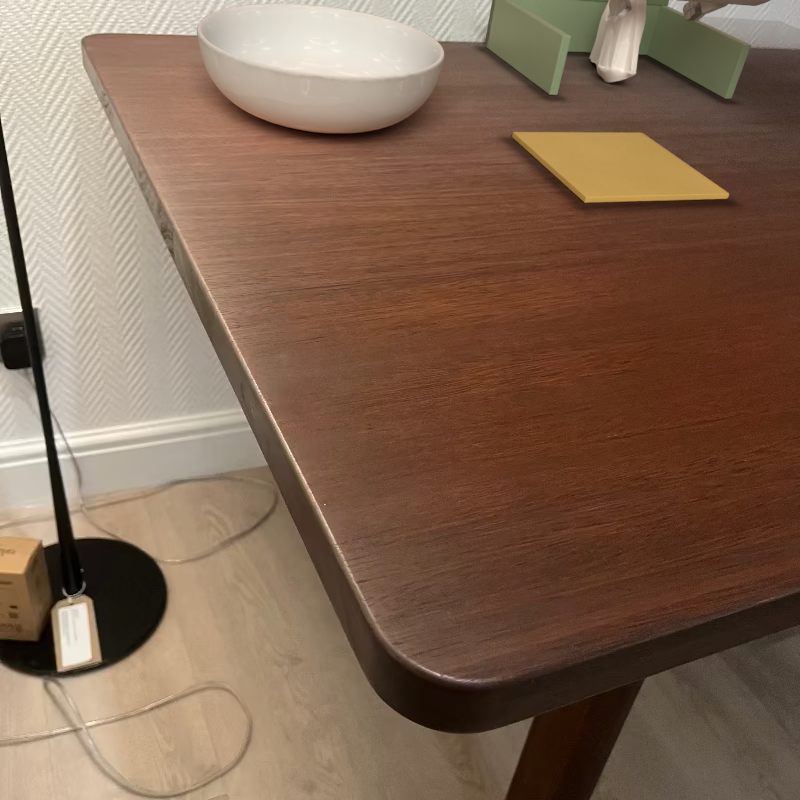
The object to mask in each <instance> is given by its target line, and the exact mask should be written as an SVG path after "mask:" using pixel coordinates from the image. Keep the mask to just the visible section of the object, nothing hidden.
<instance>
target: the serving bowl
mask: <svg viewBox="0 0 800 800" xmlns="http://www.w3.org/2000/svg"><path fill="white" fill-rule="evenodd" d="M196 37H197V43H198V47H199V51H200V55H201V60H202V62H203V65H204V67H205V70H206V72H207V74H208V76H209V78H210V79H211V80H212V82H213V84H214V85H215V86H216V87H217V89H218V90H219V91H220V92H221V93H222V94H223V96H224V97H226V98H227V99H228V100H229V101H230V102H231V103H233V104H234V105H235V106H237V108H240V109H241V110H242V111H245V112H246V113H248V114H250V115H253V116H254V117H257V118H259V119H261V120H264V121H266V122H268V123H271V124H276V125H279V126H283V127H286V128H291V129H295V130H301V131H305V132H309V133H315V134H356V133H357V134H359V133H365V132H366V133H367V132H371V131H377V130H381V129H384V128H387V127H391V126H394V125H395V124H398V123H400V122H402V121H404V120H405V119H407V118H409V117H411V116H412V115H413V114H414V113H416V112H417V111H418V110H419V109H420V108H421V107H422V106H423V105H424V104H425V103H426V101H427V100H428V99H429V98H430V96H431V94H433V91H434V89H435V87H436V85H437V83H438V81H439V77H440V75H441V72H442V69H443V64H444V61H445V50H444V47H443V45H441V43H440V42H439V41H438V40H436V39H435V38H434V37H432V36H431V35H430V34H428V33H426V32H424V31H423V30H420V29H418V28H416V27H414V26H411V25H409V24H406V23H403V22H401V21H397V20H395V19H392V18H387V17H385V16H381V15H376V14H372V13H367V12H364V11H358V10H353V9H347V8H340V7H334V6H326V5H317V4H307V3H306V4H305V3H289V2H288V3H285V2H282V3H281V2H280V3H279V2H271V3H270V2H269V3H267V2H266V3H252V4H242V5H235V6H230V7H226V8H221V9H218V10H216V11H213V12H211V13H208V14H207V15H205V16H204V17H202V19H201V20H199V22H198V23H197V26H196Z"/></svg>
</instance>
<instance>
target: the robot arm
mask: <svg viewBox="0 0 800 800" xmlns="http://www.w3.org/2000/svg"><path fill="white" fill-rule="evenodd" d="M678 1H679V2H686V3H685V4H684V5H683V7H682V13H684V14H685V15H684V19H685V20H687V21H698V20H699V21H700V20H701V19H702V18H703V17H704V16H706V15H707V14H710V13H713V12H715V11H718V10H721V9H723V8H725V7H727V6H728V5H735V6H736V5H738V6H750V7H757V6H760V5H763V4H765V3H768V2H770V1H771V0H677V2H678ZM631 9H632V5H631V2H630V0H610V1H609V10H610V15H611V16H625V15H626V13H628V12H629V11H630V10H631Z"/></svg>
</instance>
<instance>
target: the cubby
mask: <svg viewBox="0 0 800 800" xmlns="http://www.w3.org/2000/svg"><path fill="white" fill-rule="evenodd" d="M608 1H609V0H491V5H490V10H489V16H488V22H487V23H488V24H487V27H486V28H487V29H486V32H485V33H486V34H485V38H484V43H483V44H484V47H485V48H486V49H488V50H489V51H490V52H492V53H493V54H494V55H496V56H497V57H498V58H500V60H502V61H504V62H505V63H506V64H508V66H510V67H512V68H513V69H514V70H516V71H517V72H518V73H520V75H522V76H524V77H525V78H527V80H529V81H530V82H532V84H534V85H536V86H537V87H538V88H539V89H541V90H543V92H544V93H546V94H547V95H548V96H558V94H559V89H560V85H561V82H562V76H563V73H564V68H565V65H566V61H567V56H568V52H570V53H591V52H592V49H593V46H594V44H595V40H596V36H597V32H598V28H599V24H600V20H601V17H602V14H603V12H604V10H605V8H606V5H607V3H608ZM669 3H670V0H646V21H645V26H644V30H643V34H642V38H641V42H640V46H639V52H638V55H640V56H641V55H643V56H648V57H650V58H652V59H654V60H655V61H656V62H659V63H660V64H662V65H664V66H666V67H667V68H670V69H671V70H673V71H675V72H676V73H678V74H680V75H682V76H684V77H685V78H687V79H689V80H691V81H692V82H694V83H696V84H698V85H700V87H701V86H702V87H703V88H705V89H706V90H708V91H711V92H712V93H715V94H716V95H717V96H719V97H721V98H723V99H725V100H732V98H733V96H734V93H735V90H736V88H737V85H738V82H739V79H740V77H741V75H742V71H743V69H744V65H745V63H746V60H747V57H748V55H749V53H750V50H751V47H752V44H751V43H748V42H746V41H744V40H742V39H740V38H737V37H735V36H733V35H731V34H729V33H727V32H725V31H722V30H720V29H718V28H716V27H713V26H712V25H709V24H707V23H705V22H703V21H702V20H701V21H700V20H698V21H687V20H685V19H684V15H685V14H684V13H683V12H681V11H679V10H677V9H675V8H672V7H670V6H669Z"/></svg>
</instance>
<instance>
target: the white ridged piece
mask: <svg viewBox="0 0 800 800" xmlns="http://www.w3.org/2000/svg"><path fill="white" fill-rule="evenodd" d="M609 1H610V0H609ZM609 1H608V3H607V5H606V8H605V10H604V12H603V14H602V17H601V20H600V24H599V28H598V32H597V36H596V40H595V44H594V46H593V49H592V52H590V55H589V58H588V59H589V60H590V62H592V63H594V64H595V66H596V71H597V75H598V76H600V77H601V78H602V79H603V81H604V82H605V83H616V82H620V81H624V80H627V79H630V78H632V77H635V76H636V75H637V70H638V59H639V54H638V52H639V46H640V42H641V38H642V34H643V30H644V26H645V21H646V0H630V2H631V5H632V9H631V10H630V11H629V12H628V13H626V15H625V16H611V15H610V10H609Z"/></svg>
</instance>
